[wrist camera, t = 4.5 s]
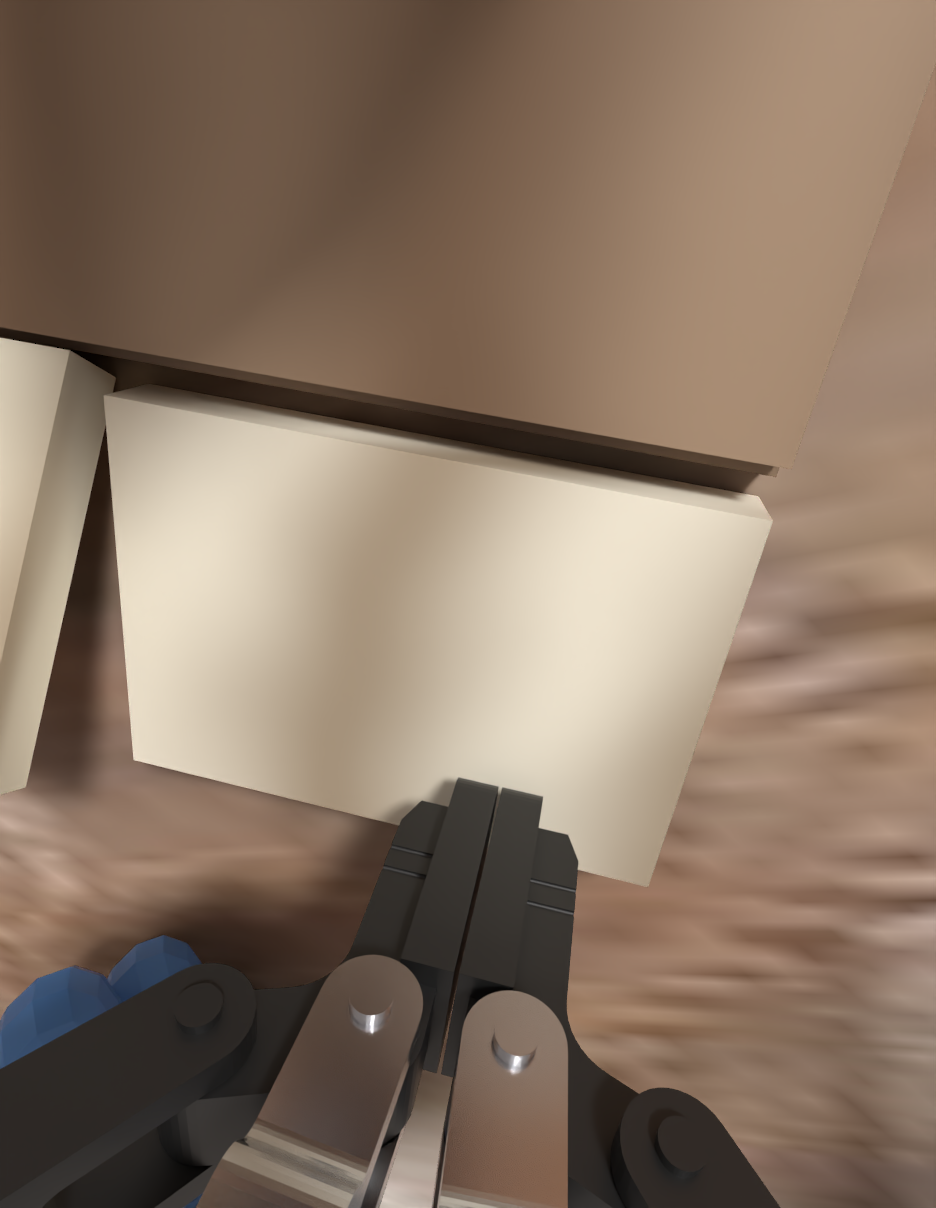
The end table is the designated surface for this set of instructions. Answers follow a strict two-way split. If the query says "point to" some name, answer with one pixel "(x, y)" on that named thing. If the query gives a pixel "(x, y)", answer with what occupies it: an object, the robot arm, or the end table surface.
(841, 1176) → the end table surface
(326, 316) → the laid plank
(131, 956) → the grapes
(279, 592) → the plank
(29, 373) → the plank
